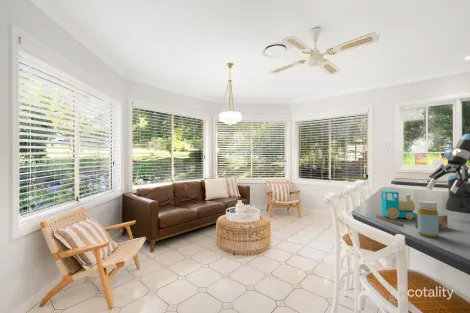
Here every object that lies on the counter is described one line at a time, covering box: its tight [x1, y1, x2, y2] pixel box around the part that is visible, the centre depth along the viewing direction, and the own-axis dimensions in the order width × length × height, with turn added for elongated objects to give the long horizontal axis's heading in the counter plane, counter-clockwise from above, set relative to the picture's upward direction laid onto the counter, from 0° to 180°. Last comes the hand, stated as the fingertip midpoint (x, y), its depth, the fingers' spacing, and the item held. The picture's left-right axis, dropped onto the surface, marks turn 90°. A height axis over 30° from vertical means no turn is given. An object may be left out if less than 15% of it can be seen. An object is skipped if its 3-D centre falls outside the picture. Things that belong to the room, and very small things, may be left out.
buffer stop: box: [415, 213, 448, 229], centre depth 114 cm, size 14×5×6 cm, turn 96°
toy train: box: [380, 190, 416, 220], centre depth 132 cm, size 8×17×15 cm, turn 78°
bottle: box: [417, 199, 440, 238], centre depth 103 cm, size 7×7×15 cm
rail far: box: [375, 214, 404, 227], centre depth 125 cm, size 1×18×1 cm, turn 5°
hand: (440, 190), depth 129 cm, fingers open, 13 cm apart
